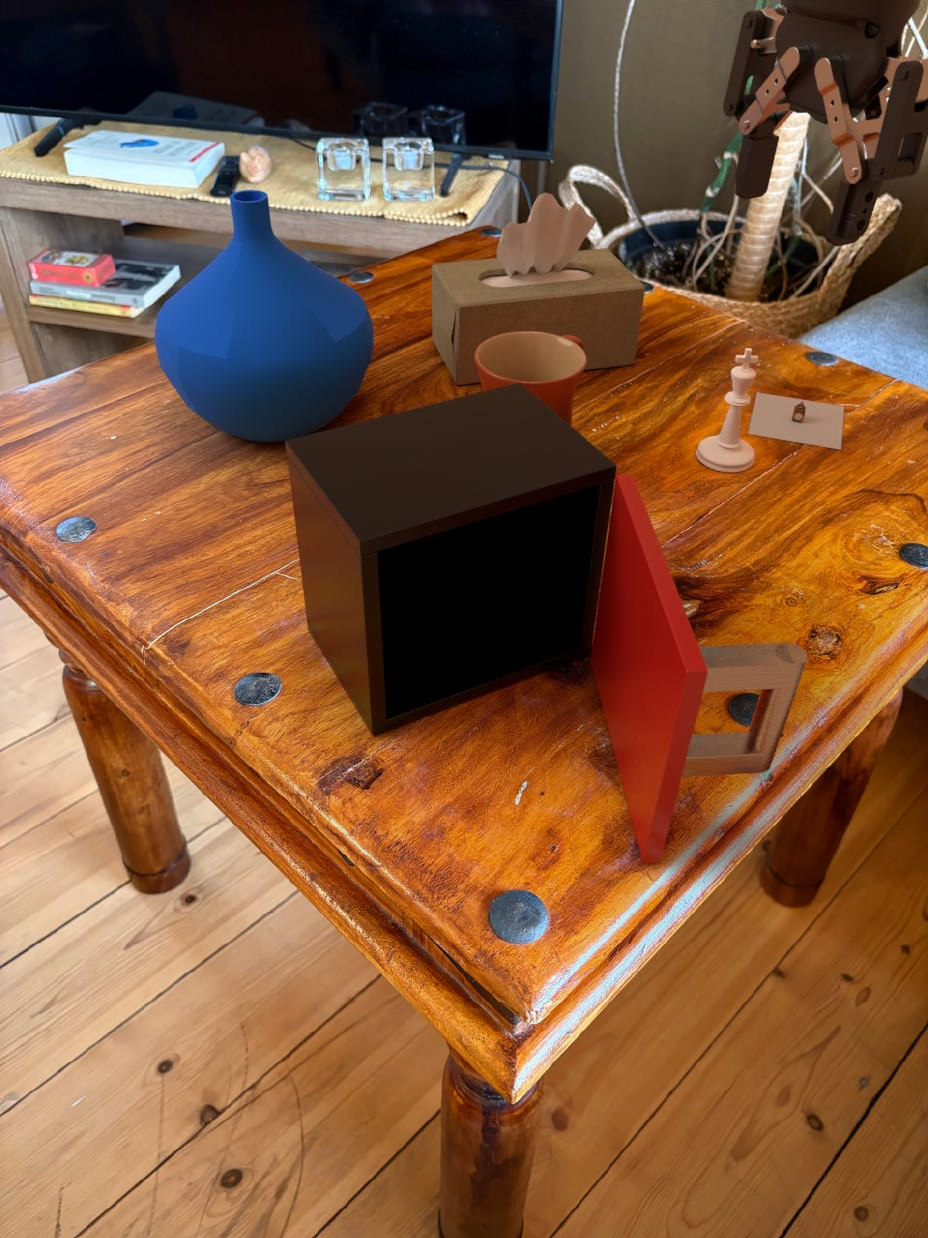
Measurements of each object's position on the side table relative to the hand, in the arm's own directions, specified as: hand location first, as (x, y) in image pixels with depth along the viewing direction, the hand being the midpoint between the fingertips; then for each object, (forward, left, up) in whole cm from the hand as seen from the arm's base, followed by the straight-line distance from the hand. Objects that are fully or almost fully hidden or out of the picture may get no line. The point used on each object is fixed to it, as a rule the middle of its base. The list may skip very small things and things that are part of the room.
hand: (793, 218), depth 63 cm
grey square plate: (-16, -9, -24) cm, 30 cm away
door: (+19, +18, -23) cm, 35 cm away
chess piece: (-6, -7, -24) cm, 25 cm away
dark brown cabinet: (+26, +3, -23) cm, 35 cm away
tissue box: (-1, -31, -24) cm, 39 cm away
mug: (+9, -14, -24) cm, 29 cm away
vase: (+26, -31, -24) cm, 47 cm away
